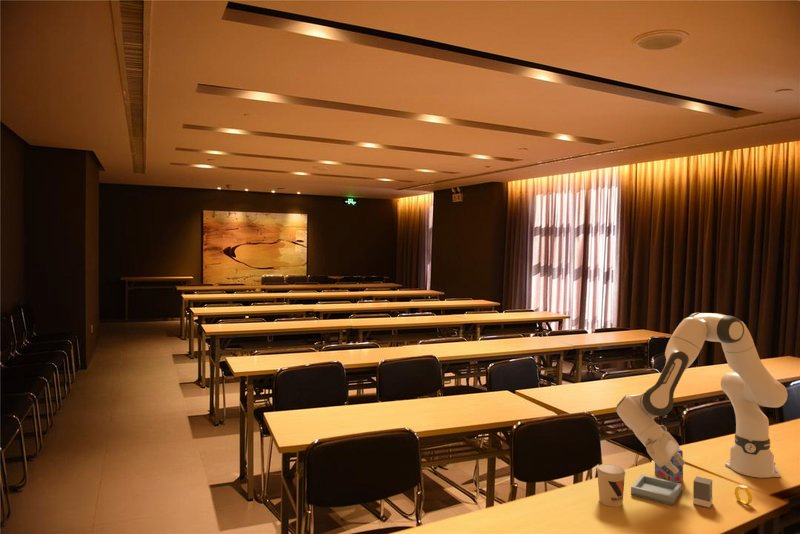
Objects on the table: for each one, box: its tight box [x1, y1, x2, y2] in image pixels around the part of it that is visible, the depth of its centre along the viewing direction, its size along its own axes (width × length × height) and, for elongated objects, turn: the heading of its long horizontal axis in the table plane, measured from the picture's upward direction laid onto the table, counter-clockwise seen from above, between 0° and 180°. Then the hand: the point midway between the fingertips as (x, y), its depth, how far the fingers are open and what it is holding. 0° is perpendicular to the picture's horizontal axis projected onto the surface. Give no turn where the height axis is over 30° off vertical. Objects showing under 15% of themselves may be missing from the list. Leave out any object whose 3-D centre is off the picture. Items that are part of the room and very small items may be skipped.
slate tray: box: [630, 474, 683, 506], centre depth 200 cm, size 14×14×3 cm
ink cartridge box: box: [654, 448, 684, 483], centre depth 213 cm, size 10×6×14 cm, turn 15°
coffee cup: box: [596, 463, 626, 508], centre depth 193 cm, size 9×9×12 cm
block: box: [692, 475, 713, 510], centre depth 191 cm, size 5×5×8 cm
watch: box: [734, 484, 753, 505], centre depth 192 cm, size 6×3×6 cm, turn 15°
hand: (680, 468), depth 195 cm, fingers open, 8 cm apart
